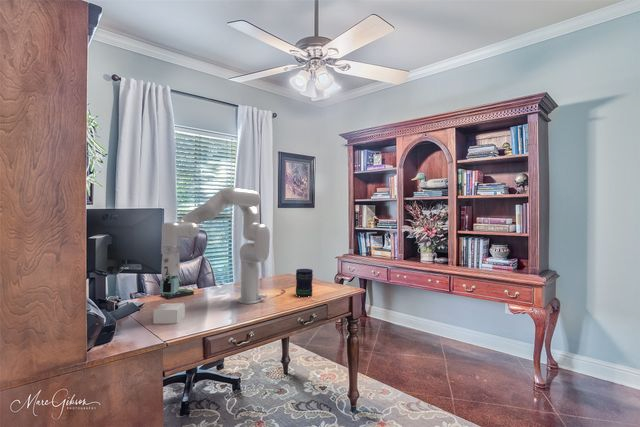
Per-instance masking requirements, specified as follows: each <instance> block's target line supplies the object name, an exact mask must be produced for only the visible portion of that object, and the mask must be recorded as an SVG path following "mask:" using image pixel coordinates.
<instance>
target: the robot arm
mask: <svg viewBox="0 0 640 427" xmlns="http://www.w3.org/2000/svg"><path fill="white" fill-rule="evenodd" d="M261 200H262V197H261V195H260V193H259V192H258V191H256V190H253V189H252V190H251V189H245V188H237V187H227V188H222V189H220V190H218V191H217V192H216V193H215V194H213V196H212V197H210V198H209V199H208V200H206V202H204V203H203V204H201V205H200V206H197V207H196V208H194V209H192V210H190V211H189V212H187V213H186V214H184V215H183V216H181V218H179V219H178V220H177V221H176V222H170V221H169V222H168V221H167V222H163V223H162V225H161V246H160V248H161V250H160V251H161V252H160V254H161V256H162V257H161V270H160V272H161V279H163V292H171V283H170V280H171V277H177V276H178V274H180V272H181V271H180V270H181V265H180V264H181V262H180V250H181V248H180V247H181V238H182V239H194V238H196V237H197V236H199V233H200V227H199V226H198V225H199V224H201V223H204V222H206V221H210V220H212V219H215V218H216V217H217V216H218V215H220V214H221V213H222V212H223V211H224V210H225V209H226V208H227V207H229V206H238V207H239V208H240V210H241V211H242V216H243V222H242V223H243V224H242V226H243V227H242V235H243V236H242V237H243V238H244V239H245V240H247V241H252V242H246V243H244V244H242V245H241V247H240V248H239V259H240V297H238V298H237V302H238V303H240V304H245V305H251V304H252V305H253V304H258V303H261V302H262V299H267V294H266V293H260V290H259V288H260V287H259V286H260V285H259V284H260V283H259V282H260V280H259V279H260V278H259V277H260V274H259V273H260V267H259V263H264V262H266V261H267V260H268V258H269V255H270V240H271V234H270V229H269V228H268V226H267V225H266V224H264V223H260V212H259V209H258V206H259V205H260V203H261ZM253 242H254V243H253ZM168 278H169V279H168Z"/></svg>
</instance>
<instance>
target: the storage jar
mask: <svg viewBox="0 0 640 427" xmlns="http://www.w3.org/2000/svg"><path fill="white" fill-rule="evenodd" d="M295 272H296V274H295V279H296V286H295V296H296V295H297V296H300V297H299V298H301V297H308V296H311V297H313V278H314V277H313V276H314V275H313V269H311V268H297V269H296V270H295ZM297 296H296V297H297ZM308 298H309V297H308Z"/></svg>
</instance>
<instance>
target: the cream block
mask: <svg viewBox="0 0 640 427" xmlns="http://www.w3.org/2000/svg"><path fill="white" fill-rule="evenodd" d="M185 316H186V303H184V302H183V303H182V302H180V303H179V302H177V303H175V302H174V303H172V302H171V303H168V302H167V303H164V302H163V303H162V304H160V305H158V306H157V307H156V308H154V309H153V316H152V317H153V320H152V321H153V324H155V325H159V324H161V325H162V324H163V325H164V324H167V325H168V324H172V325H173V324H174V325H175V324H179V322H181V321H182V320H183V319H184V318H185Z"/></svg>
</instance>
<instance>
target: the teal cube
mask: <svg viewBox="0 0 640 427" xmlns="http://www.w3.org/2000/svg"><path fill="white" fill-rule="evenodd" d="M168 279H169V278H168ZM170 283H171V292H163V279H162V278H161V279H160V282H159V285H160V287H159V294H160V295H161V294H174V293H176V292H177V291H179V289H180V277H171V280H170Z"/></svg>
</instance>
